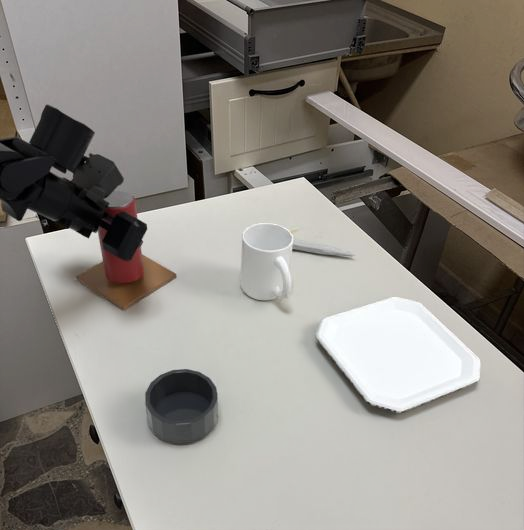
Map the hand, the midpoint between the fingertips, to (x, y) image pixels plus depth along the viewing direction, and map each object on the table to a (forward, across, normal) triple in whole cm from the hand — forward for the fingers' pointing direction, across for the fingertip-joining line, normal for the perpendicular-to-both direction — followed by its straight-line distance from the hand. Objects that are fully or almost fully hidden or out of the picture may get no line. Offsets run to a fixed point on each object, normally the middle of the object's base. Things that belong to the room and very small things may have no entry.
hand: (127, 236), depth 86 cm
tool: (+25, -19, -14) cm, 34 cm away
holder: (-6, -28, +17) cm, 34 cm away
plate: (+15, -45, -4) cm, 47 cm away
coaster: (+5, 0, +7) cm, 8 cm away
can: (+3, 0, +6) cm, 7 cm away
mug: (+14, -21, -3) cm, 25 cm away
